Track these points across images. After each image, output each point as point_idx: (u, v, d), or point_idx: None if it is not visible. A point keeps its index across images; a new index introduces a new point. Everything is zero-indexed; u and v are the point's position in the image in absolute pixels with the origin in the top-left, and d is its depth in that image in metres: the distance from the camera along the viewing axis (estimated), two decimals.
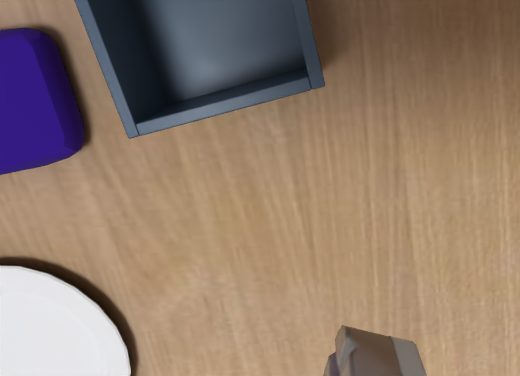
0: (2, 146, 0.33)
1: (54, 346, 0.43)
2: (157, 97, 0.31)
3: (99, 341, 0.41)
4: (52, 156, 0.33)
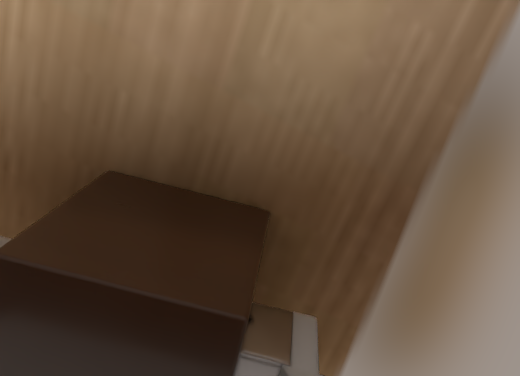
0: None
1: None
2: None
3: None
4: None
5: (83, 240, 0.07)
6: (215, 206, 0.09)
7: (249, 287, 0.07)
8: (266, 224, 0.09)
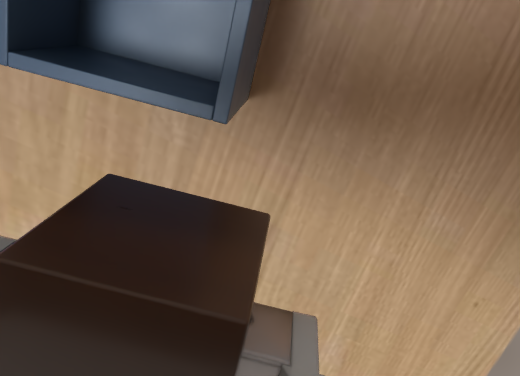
0: None
1: None
2: (63, 31, 0.26)
3: None
4: None
5: (85, 243, 0.07)
6: (216, 209, 0.09)
7: (250, 291, 0.07)
8: (266, 227, 0.09)
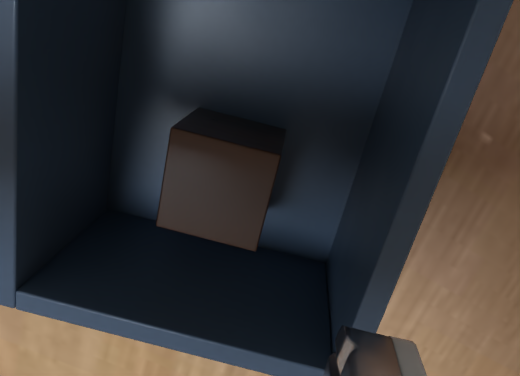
0: None
1: None
2: (91, 206, 0.19)
3: None
4: None
5: (204, 127, 0.16)
6: (258, 124, 0.18)
7: (280, 148, 0.15)
8: (285, 133, 0.18)
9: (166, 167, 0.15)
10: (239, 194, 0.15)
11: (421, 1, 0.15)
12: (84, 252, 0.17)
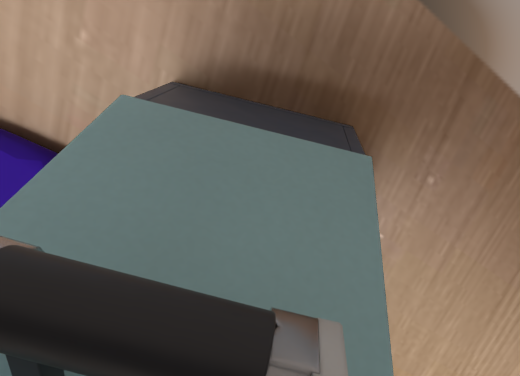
0: None
1: None
2: None
3: None
4: None
5: None
6: None
7: None
8: None
9: None
10: None
11: None
12: None
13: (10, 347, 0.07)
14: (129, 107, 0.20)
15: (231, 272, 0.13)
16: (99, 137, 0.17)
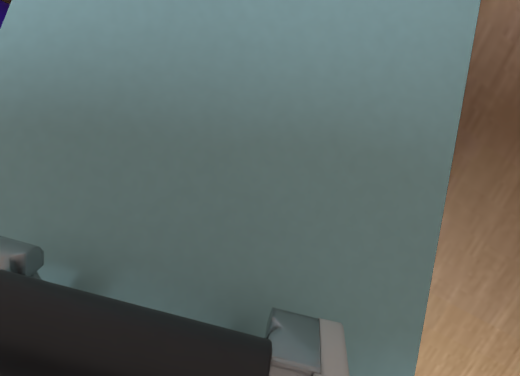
0: None
1: None
2: None
3: None
4: None
5: None
6: None
7: None
8: None
9: None
10: None
11: None
12: None
13: None
14: None
15: (256, 162, 0.11)
16: None
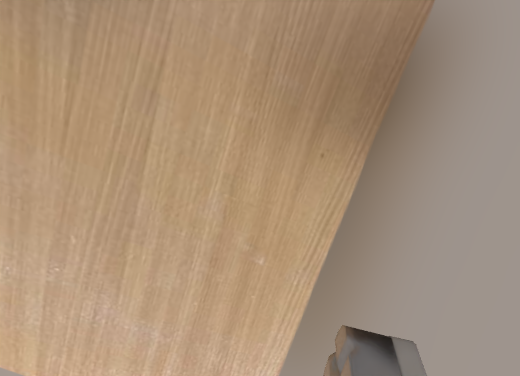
0: None
1: None
2: None
3: None
4: None
5: None
6: None
7: None
8: None
9: None
10: None
11: None
12: None
13: None
14: None
15: None
16: None
